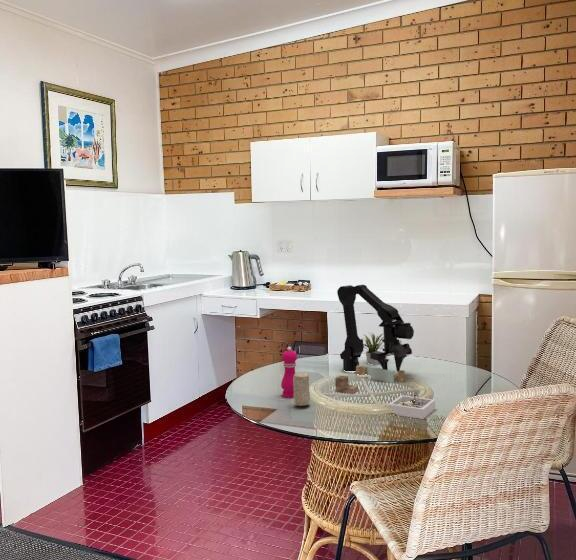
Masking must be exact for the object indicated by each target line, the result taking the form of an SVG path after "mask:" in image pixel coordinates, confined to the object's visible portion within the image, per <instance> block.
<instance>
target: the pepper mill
mask: <svg viewBox="0 0 576 560" xmlns="http://www.w3.org/2000/svg"><path fill="white" fill-rule="evenodd" d="M281 358H282V361H283V367H284V373H283V377H282V379H281V383H280V387H281V388H282V397H284V398H285V399H286V398H288V399H292V398H293V399H294V391H293V390H294V389H293V388H294V386H293V378H294V374H296V366H297V365H296V364H297V362H296V361H297V359H298V355H297V353H296V352H295V351H294V350H292V346H288V347H286V350H285V351H284V352H283V353H282V354H281Z"/></svg>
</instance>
